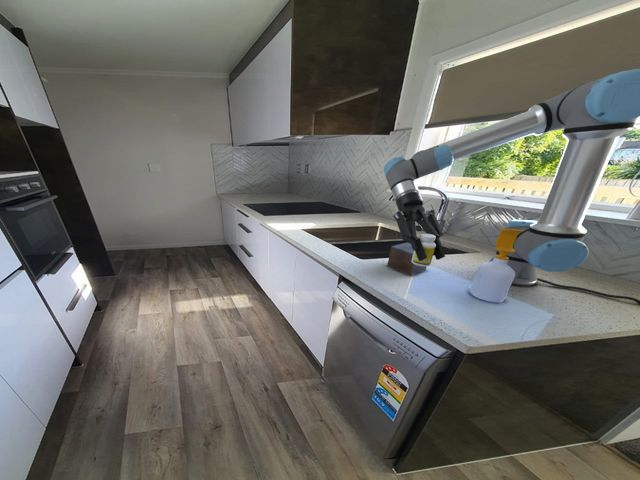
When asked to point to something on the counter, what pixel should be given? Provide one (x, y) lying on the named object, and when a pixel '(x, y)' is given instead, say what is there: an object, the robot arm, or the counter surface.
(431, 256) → the supplement bottle
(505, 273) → the soap bottle
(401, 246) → the box lid
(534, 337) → the counter surface
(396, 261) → the box
